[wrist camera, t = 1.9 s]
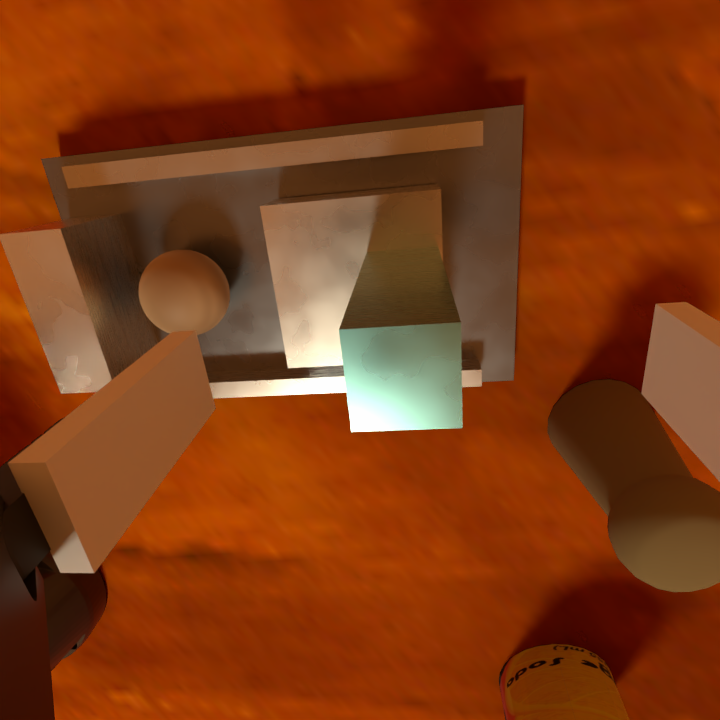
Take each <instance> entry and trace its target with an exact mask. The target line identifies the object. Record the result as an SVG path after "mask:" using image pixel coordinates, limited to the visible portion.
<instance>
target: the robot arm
mask: <svg viewBox="0 0 720 720" xmlns="http://www.w3.org/2000/svg"><path fill="white" fill-rule="evenodd" d="M641 394H642V395H643V396H644V397H645V398H646V400H647V401H648V402H649V403H650V404H651V405H652V406H653V407H654V408H655V410H656V411H657V412H658V413H659V414H660V415H661V416H662V417H663V419H664V420H665V421H666V422H667V423H668V424H669V425H670V426H671V428H672V429H673V430H674V431H675V432H676V433H677V434H678V435H679V436H680V438H681V439H682V440H683V441H684V442H685V443H686V444H687V445H688V447H689V448H690V449H691V450H692V451H693V452H694V453H695V454H696V456H697V457H698V458H699V459H700V460H701V461H702V462H703V463H704V464H705V466H706V467H707V468H708V469H709V470H710V471H711V472H712V473H713V475H714V476H715V477H716V478H717V479H718V480H719V481H720V322H719V321H717V320H716V319H714V318H712V317H711V316H709V315H707V314H706V313H704V312H702V311H701V310H699V309H697V308H696V307H694V306H692V305H691V304H689V303H687V302H676V303H659V304H656V305H655V311H654V317H653V323H652V330H651V336H650V342H649V348H648V354H647V361H646V367H645V373H644V379H643V386H642V392H641ZM215 409H216V408H215V404H214V400H213V396H212V392H211V388H210V384H209V380H208V376H207V372H206V368H205V364H204V361H203V357H202V353H201V349H200V345H199V341H198V337H197V333H196V330H194V331H176V332H171V333H170V334H169V335H168V336H166V337H165V338H164V339H163V340H161V341H160V342H159V343H158V344H156V345H155V346H154V347H153V348H151V349H150V350H149V351H148V352H146V353H145V354H144V355H143V356H141V357H140V358H139V359H138V360H136V361H135V362H134V363H133V364H131V365H130V366H129V367H128V368H126V369H125V370H124V371H123V372H121V373H120V374H119V375H117V376H116V377H115V378H114V379H112V380H111V381H110V382H109V383H107V384H106V385H105V386H104V387H102V388H101V389H100V390H99V391H97V392H96V393H95V394H94V395H92V396H91V397H90V398H89V399H87V400H86V401H85V402H84V403H82V404H81V405H80V406H79V407H77V408H76V409H75V410H74V411H72V412H71V413H70V414H69V415H67V416H66V417H64V418H62V419H60V420H59V421H58V422H56V423H55V424H54V425H53V426H51V427H50V428H49V429H48V430H46V431H45V432H44V435H40V436H39V437H37V438H36V439H35V440H34V441H32V442H31V443H32V444H31V445H27V446H26V447H25V448H24V449H22V450H21V451H20V452H19V453H17V454H16V455H15V456H14V457H12V458H11V459H10V460H8V461H7V462H6V463H5V464H3V465H2V466H1V467H0V720H55V717H54V704H53V692H52V679H51V671H52V670H53V669H54V668H55V666H56V665H57V664H58V663H59V662H60V661H61V660H62V659H63V658H66V657H67V656H69V655H71V654H72V653H73V652H75V651H76V650H77V649H78V648H79V647H80V646H81V645H82V644H83V643H84V642H85V640H86V639H87V638H88V636H89V635H90V633H91V632H92V630H93V629H94V627H95V626H96V624H97V622H98V621H99V619H100V618H101V616H102V614H103V612H104V610H105V606H106V589H105V585H104V582H103V579H102V577H101V574H100V572H99V571H98V568H99V566H100V565H101V564H102V562H103V561H104V560H105V558H106V557H107V555H108V554H109V553H110V551H111V550H112V549H113V547H114V546H115V545H116V543H117V542H118V541H119V539H120V538H121V536H122V535H123V534H124V532H125V531H126V530H127V528H128V527H129V526H130V524H131V523H132V522H133V520H134V519H135V517H136V516H137V515H138V513H139V512H140V511H141V509H142V508H143V507H144V505H145V504H146V502H147V501H148V500H149V498H150V497H151V496H152V494H153V493H154V492H155V490H156V489H157V488H158V486H159V485H160V483H161V482H162V481H163V479H164V478H165V477H166V475H167V474H168V473H169V471H170V470H171V469H172V467H173V466H174V464H175V463H176V462H177V460H178V459H179V458H180V456H181V455H182V454H183V452H184V451H185V449H186V448H187V447H188V445H189V444H190V443H191V441H192V440H193V439H194V437H195V436H196V435H197V433H198V432H199V430H200V429H201V428H202V426H203V425H204V424H205V422H206V421H207V420H208V418H209V417H210V416H211V414H212V413H213V411H214V410H215Z"/></svg>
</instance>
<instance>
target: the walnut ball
mask: <svg viewBox="0 0 720 720" xmlns="http://www.w3.org/2000/svg"><path fill="white" fill-rule="evenodd" d="M139 300H140V304H141V306H142V309H143V311H144V313H145V314H146V316H147V317H148V318H149V320H150V321H151V322H152V323H153V324H155V325H156V326H157V327H158V328H160V329H161V330H163V331H165V332H167V333H171V332H176V331H194V330H196V333H197V335H199V334H202V333H205V332H207V331H209V330H211V329H212V328H214V327H215V326H216V325H217V324H218V323H219V322H220V321H221V320H222V318H223V317H224V315H225V314H226V311H227V309H228V306H229V301H230V289H229V284H228V281H227V278H226V276H225V274H224V272H223V271H222V270H221V268H220V267H219V266H218V265H217V264H216V263H215V262H214V261H213V260H212V259H210V258H209V257H207V256H205V255H204V254H201V253H199V252H196V251H192V250H173V251H169V252H166V253H163V254H161V255H159V256H158V257H156V258H155V259H153V260H152V261H151V262H150V263H149V264H148V266H147V267H146V268H145V270H144V272H143V273H142V276H141V278H140V282H139Z"/></svg>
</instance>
